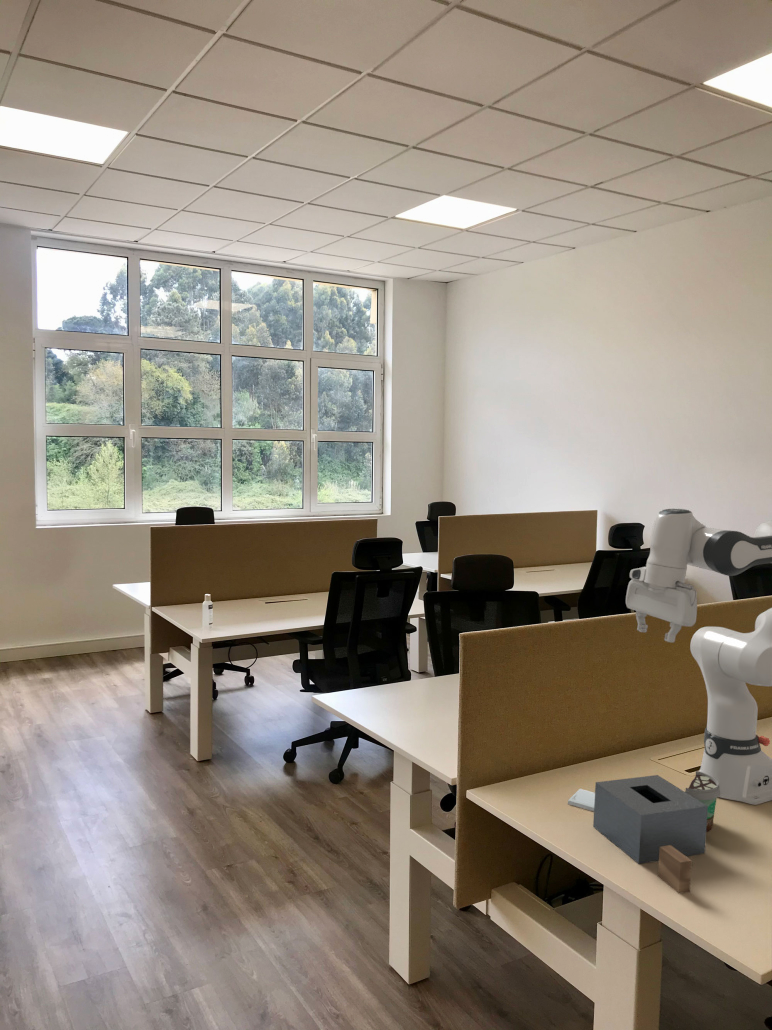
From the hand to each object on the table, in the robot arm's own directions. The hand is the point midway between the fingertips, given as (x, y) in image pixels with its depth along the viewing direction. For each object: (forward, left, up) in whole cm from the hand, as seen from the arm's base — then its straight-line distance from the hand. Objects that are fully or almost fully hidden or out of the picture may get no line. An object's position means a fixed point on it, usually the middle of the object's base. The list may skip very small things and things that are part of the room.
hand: (655, 636), depth 183 cm
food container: (-4, +15, -39) cm, 42 cm away
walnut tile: (+18, +33, -39) cm, 54 cm away
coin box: (+12, +17, -39) cm, 44 cm away
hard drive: (+12, 0, -40) cm, 42 cm away
